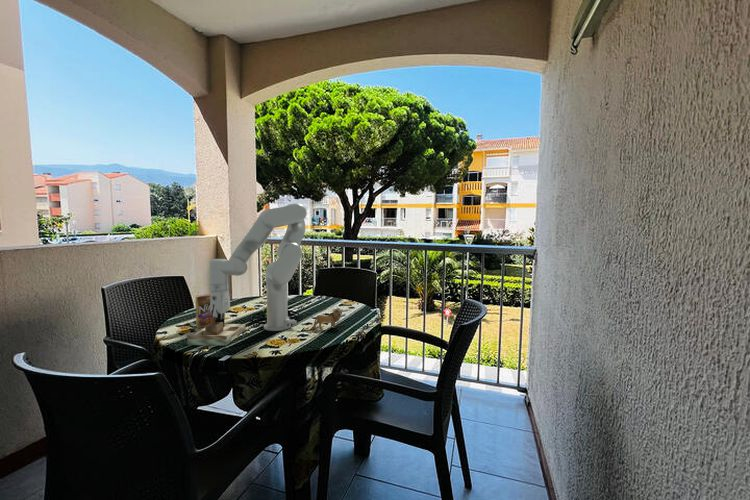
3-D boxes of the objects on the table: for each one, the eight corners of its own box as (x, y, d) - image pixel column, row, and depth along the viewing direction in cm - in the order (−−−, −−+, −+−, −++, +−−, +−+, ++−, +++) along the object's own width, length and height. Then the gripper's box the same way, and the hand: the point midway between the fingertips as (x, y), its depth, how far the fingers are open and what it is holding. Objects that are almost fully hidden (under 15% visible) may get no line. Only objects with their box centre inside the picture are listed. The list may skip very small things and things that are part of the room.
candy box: (197, 328, 167) (196, 296, 166) (195, 326, 171) (194, 295, 170) (217, 325, 172) (216, 294, 171) (216, 323, 176) (215, 293, 175)
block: (223, 331, 157) (223, 322, 157) (217, 335, 151) (216, 326, 151) (212, 330, 157) (211, 321, 157) (205, 335, 151) (205, 326, 151)
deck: (245, 329, 168) (245, 321, 167) (226, 345, 147) (226, 336, 146) (211, 328, 168) (211, 320, 167) (187, 344, 147) (187, 335, 146)
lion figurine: (339, 325, 177) (339, 307, 176) (343, 328, 172) (343, 309, 171) (310, 328, 171) (310, 309, 170) (312, 331, 166) (312, 312, 165)
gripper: (220, 290, 150) (221, 333, 152) (234, 284, 165) (235, 322, 167) (202, 290, 150) (203, 332, 152) (218, 283, 165) (219, 322, 167)
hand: (220, 327), depth 159 cm, fingers closed
